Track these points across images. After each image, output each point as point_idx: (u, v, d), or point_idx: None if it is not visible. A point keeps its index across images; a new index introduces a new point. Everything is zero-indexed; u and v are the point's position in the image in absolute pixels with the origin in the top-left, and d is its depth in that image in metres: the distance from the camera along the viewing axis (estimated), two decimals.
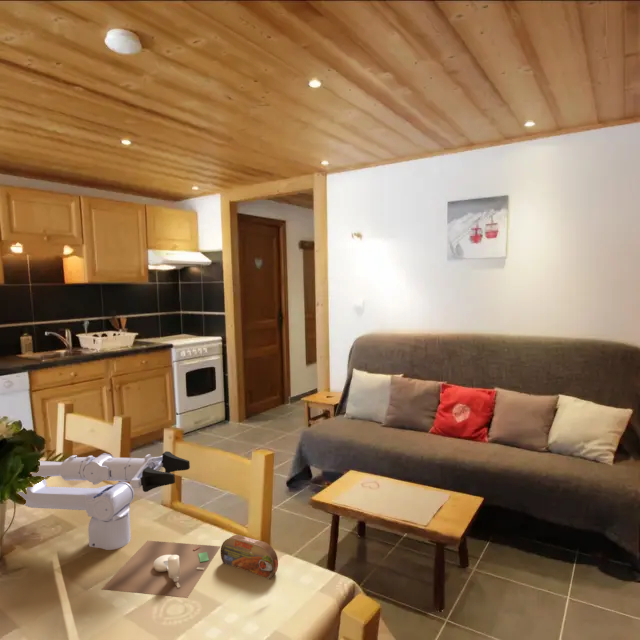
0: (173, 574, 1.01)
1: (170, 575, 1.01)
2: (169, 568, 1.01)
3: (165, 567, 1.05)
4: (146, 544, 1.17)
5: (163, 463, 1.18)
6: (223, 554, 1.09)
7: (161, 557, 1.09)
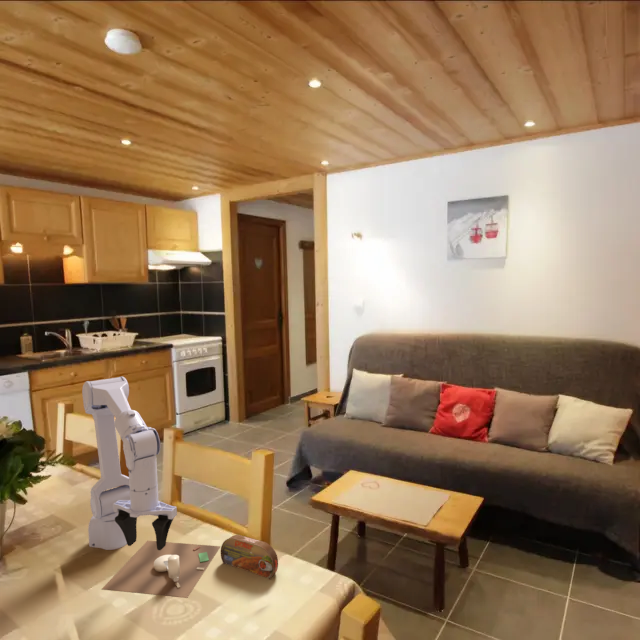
0: (173, 574, 1.01)
1: (170, 575, 1.01)
2: (169, 568, 1.01)
3: (165, 567, 1.05)
4: (146, 544, 1.17)
5: None
6: (223, 554, 1.09)
7: (161, 557, 1.09)
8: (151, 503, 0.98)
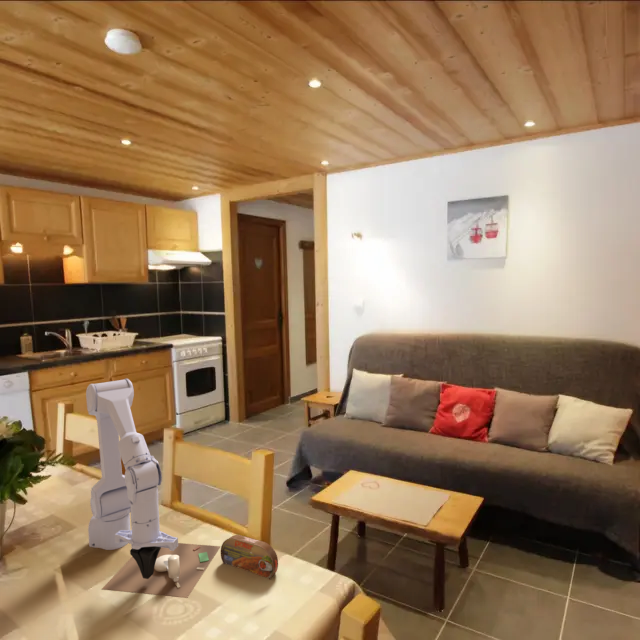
0: (173, 574, 1.01)
1: (170, 575, 1.01)
2: (169, 568, 1.01)
3: (165, 567, 1.05)
4: None
5: None
6: (223, 554, 1.09)
7: (161, 557, 1.09)
8: (152, 534, 0.99)
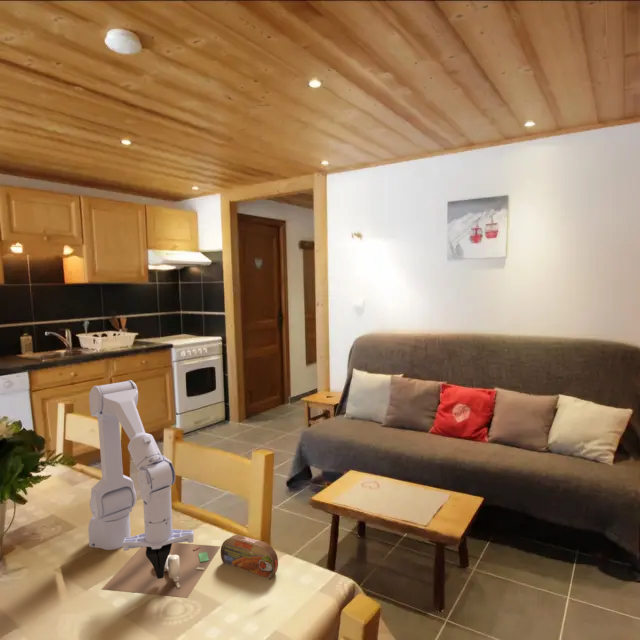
0: (173, 574, 1.01)
1: (170, 575, 1.01)
2: (169, 568, 1.01)
3: (165, 567, 1.05)
4: None
5: None
6: (223, 554, 1.09)
7: None
8: (170, 531, 1.00)
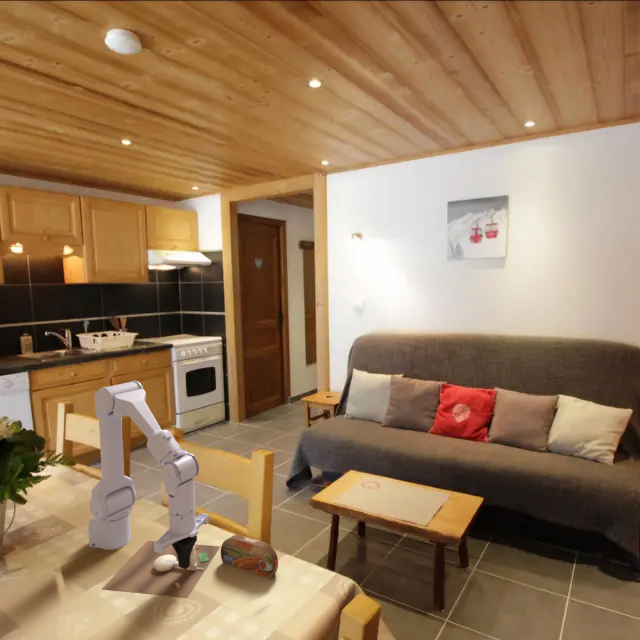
0: (193, 562, 1.06)
1: (190, 564, 1.05)
2: None
3: (172, 564, 1.06)
4: (146, 544, 1.17)
5: None
6: (223, 554, 1.09)
7: (157, 560, 1.08)
8: None
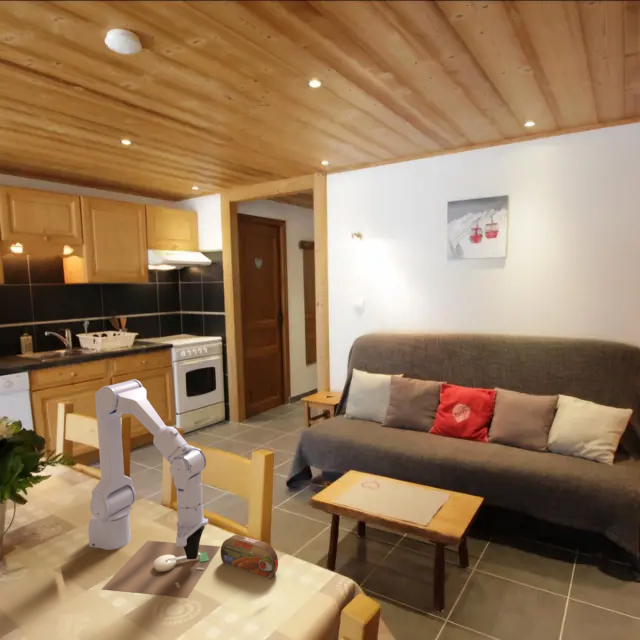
0: (198, 551, 1.10)
1: None
2: None
3: (175, 560, 1.08)
4: (146, 544, 1.17)
5: None
6: (223, 554, 1.09)
7: (156, 563, 1.07)
8: None
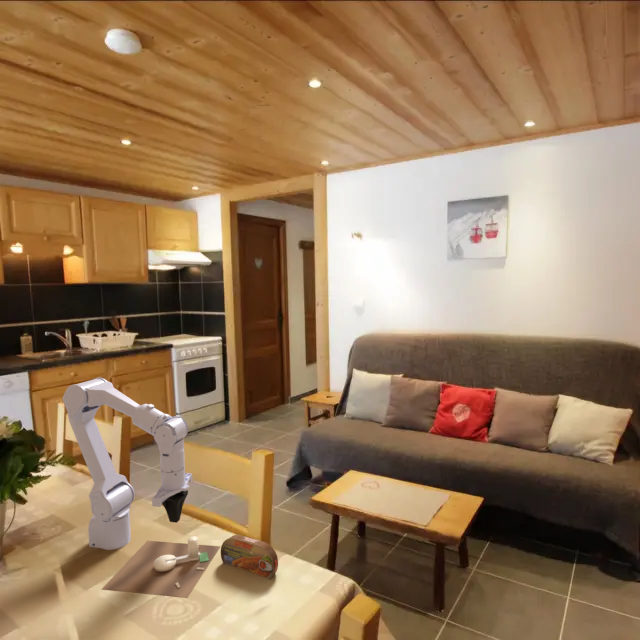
0: (198, 551, 1.10)
1: (196, 553, 1.09)
2: (195, 548, 1.09)
3: (175, 560, 1.08)
4: (146, 544, 1.17)
5: None
6: (223, 554, 1.09)
7: (156, 563, 1.07)
8: None
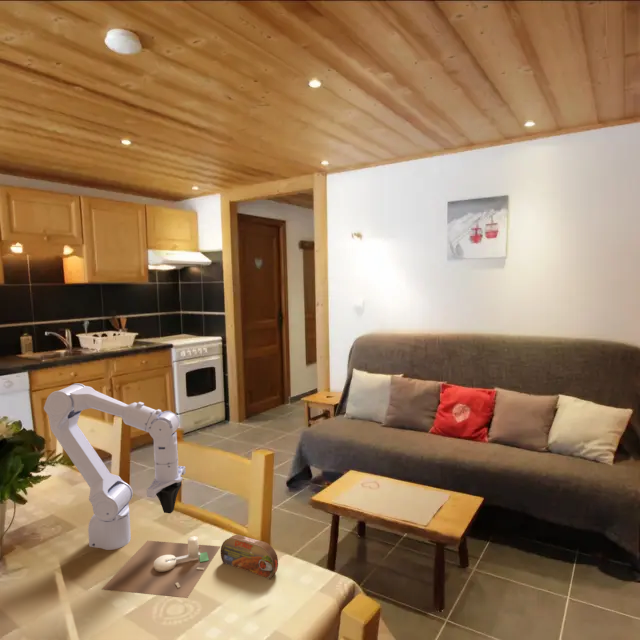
0: (198, 551, 1.10)
1: (196, 553, 1.09)
2: (195, 548, 1.09)
3: (175, 560, 1.08)
4: (146, 544, 1.17)
5: (168, 484, 1.17)
6: (223, 554, 1.09)
7: (156, 563, 1.07)
8: None
